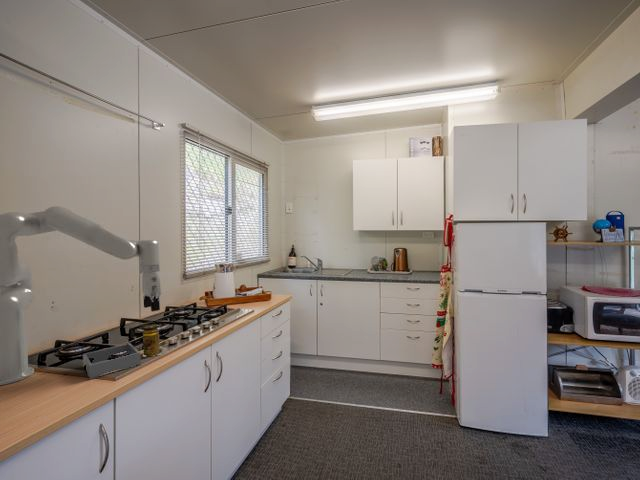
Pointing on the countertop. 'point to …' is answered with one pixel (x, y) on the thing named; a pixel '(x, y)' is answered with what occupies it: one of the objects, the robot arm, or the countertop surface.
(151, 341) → the condiment
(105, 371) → the bin
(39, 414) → the countertop surface
